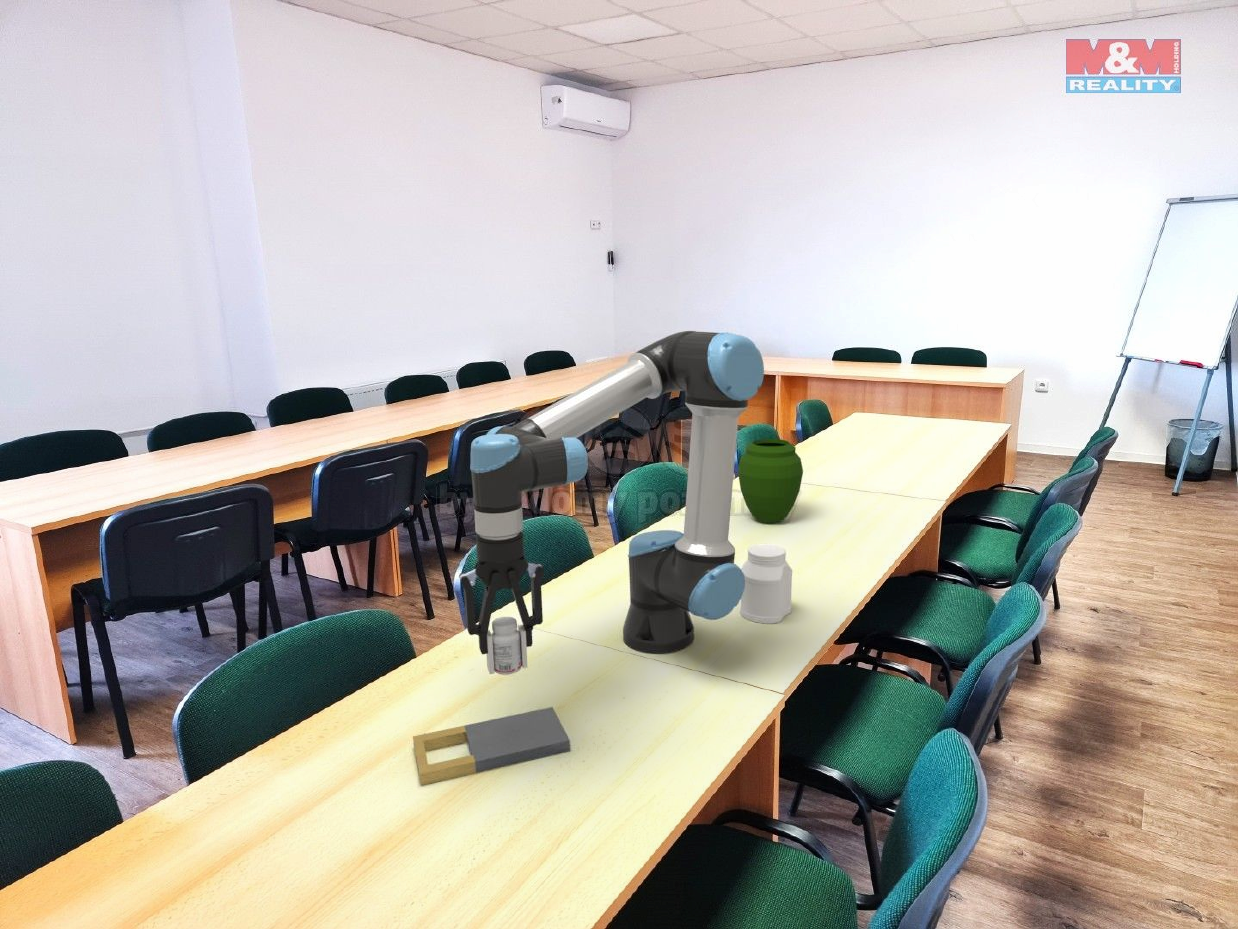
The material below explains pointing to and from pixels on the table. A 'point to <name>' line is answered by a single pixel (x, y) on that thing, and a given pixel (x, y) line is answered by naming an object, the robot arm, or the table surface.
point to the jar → (766, 584)
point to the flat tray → (492, 744)
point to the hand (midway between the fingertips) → (507, 667)
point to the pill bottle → (506, 646)
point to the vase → (770, 479)
